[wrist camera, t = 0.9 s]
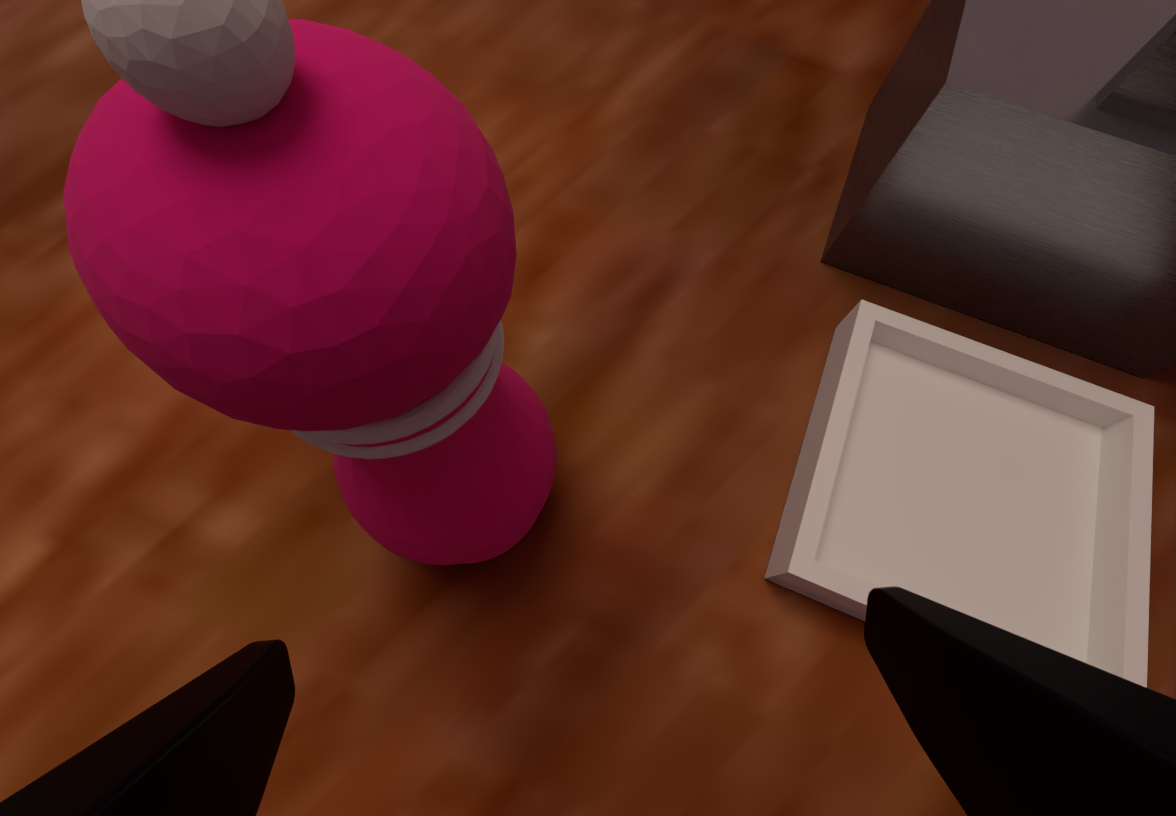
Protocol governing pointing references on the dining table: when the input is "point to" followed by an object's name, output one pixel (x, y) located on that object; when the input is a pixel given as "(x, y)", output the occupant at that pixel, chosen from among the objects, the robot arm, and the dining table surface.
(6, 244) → the dining table surface
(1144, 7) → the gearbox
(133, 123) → the pepper mill
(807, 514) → the tray
